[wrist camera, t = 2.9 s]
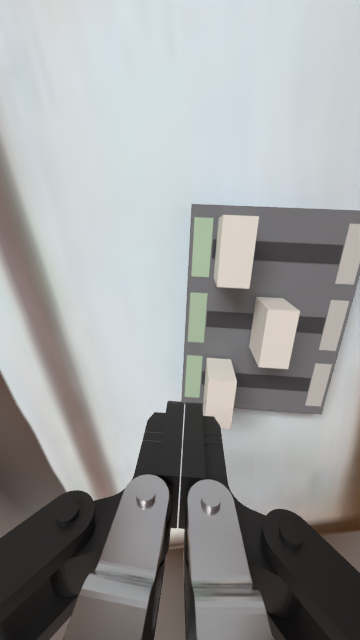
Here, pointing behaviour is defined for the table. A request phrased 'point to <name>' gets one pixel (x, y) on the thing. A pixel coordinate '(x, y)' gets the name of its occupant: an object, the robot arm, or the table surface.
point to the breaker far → (219, 390)
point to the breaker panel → (276, 282)
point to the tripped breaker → (273, 332)
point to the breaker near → (235, 250)
